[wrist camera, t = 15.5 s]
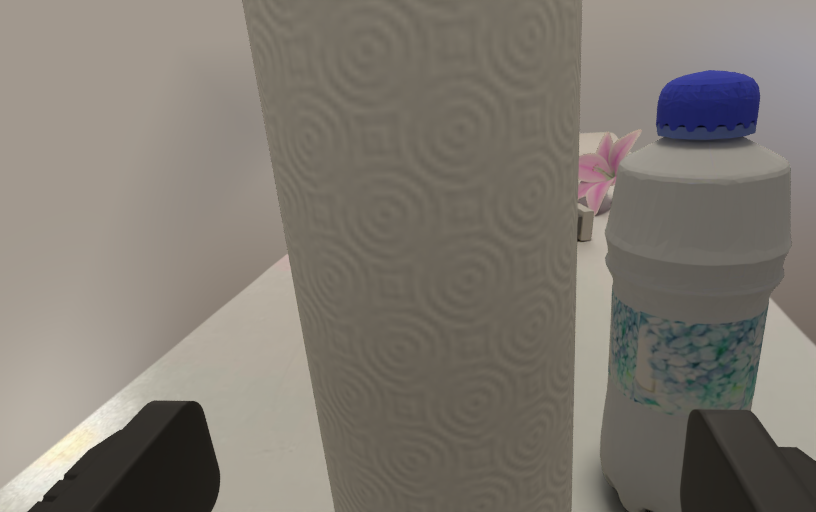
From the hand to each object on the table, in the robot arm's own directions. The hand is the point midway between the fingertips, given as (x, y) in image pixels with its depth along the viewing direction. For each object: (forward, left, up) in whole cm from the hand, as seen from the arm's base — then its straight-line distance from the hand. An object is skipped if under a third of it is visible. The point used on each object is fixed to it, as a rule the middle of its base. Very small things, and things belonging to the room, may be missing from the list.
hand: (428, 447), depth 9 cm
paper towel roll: (-2, -3, -13) cm, 14 cm away
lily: (-47, -50, -16) cm, 70 cm away
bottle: (-15, -8, -16) cm, 24 cm away
